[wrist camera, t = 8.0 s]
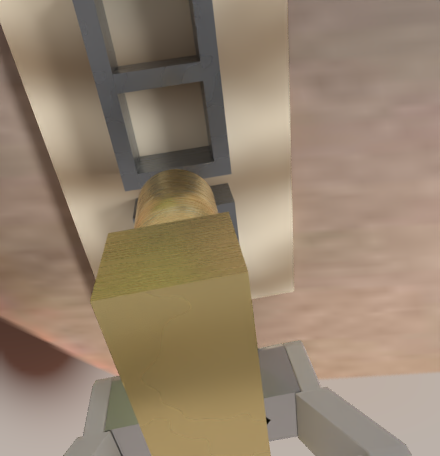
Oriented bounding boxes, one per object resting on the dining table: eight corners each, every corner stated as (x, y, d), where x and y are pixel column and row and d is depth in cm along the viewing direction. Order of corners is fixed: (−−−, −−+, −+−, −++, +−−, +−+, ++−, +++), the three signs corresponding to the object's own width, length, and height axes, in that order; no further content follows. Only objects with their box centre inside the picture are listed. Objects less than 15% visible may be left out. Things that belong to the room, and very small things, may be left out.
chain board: (-5, -13, 17) (-14, -14, 16) (280, -51, 18) (286, -54, 17) (113, 314, 27) (112, 324, 26) (290, 282, 28) (294, 291, 27)
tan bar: (124, 171, 12) (89, 301, 7) (210, 156, 12) (248, 272, 7) (182, 378, 17) (189, 552, 12) (242, 366, 17) (279, 532, 12)
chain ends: (76, -26, 16) (64, -30, 14) (201, -43, 17) (206, -50, 14) (166, 314, 27) (166, 341, 24) (241, 301, 27) (248, 326, 25)
